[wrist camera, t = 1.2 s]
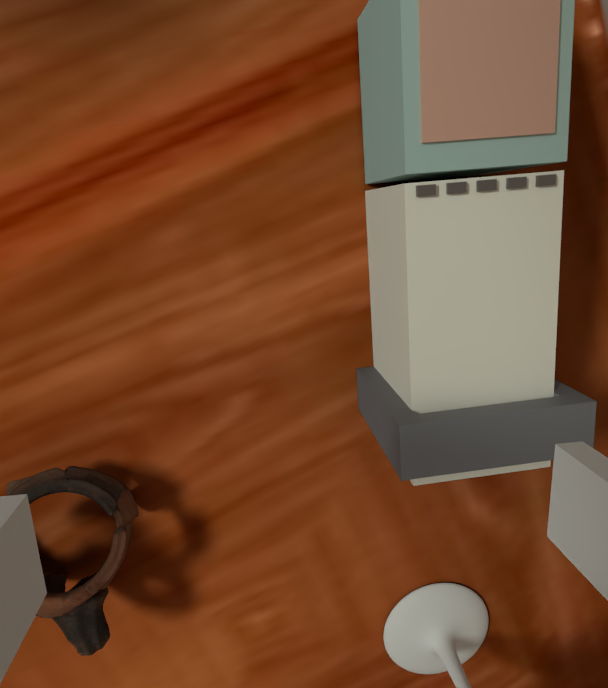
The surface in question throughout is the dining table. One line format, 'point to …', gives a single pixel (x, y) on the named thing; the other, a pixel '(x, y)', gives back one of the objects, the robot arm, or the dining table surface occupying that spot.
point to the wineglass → (437, 630)
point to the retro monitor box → (463, 86)
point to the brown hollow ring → (89, 593)
